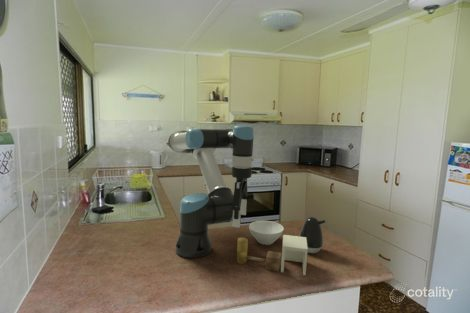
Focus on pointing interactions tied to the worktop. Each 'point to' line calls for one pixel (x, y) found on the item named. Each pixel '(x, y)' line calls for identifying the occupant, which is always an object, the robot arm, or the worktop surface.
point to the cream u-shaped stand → (294, 250)
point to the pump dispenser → (313, 234)
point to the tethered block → (271, 259)
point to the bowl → (266, 231)
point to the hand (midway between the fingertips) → (239, 220)
